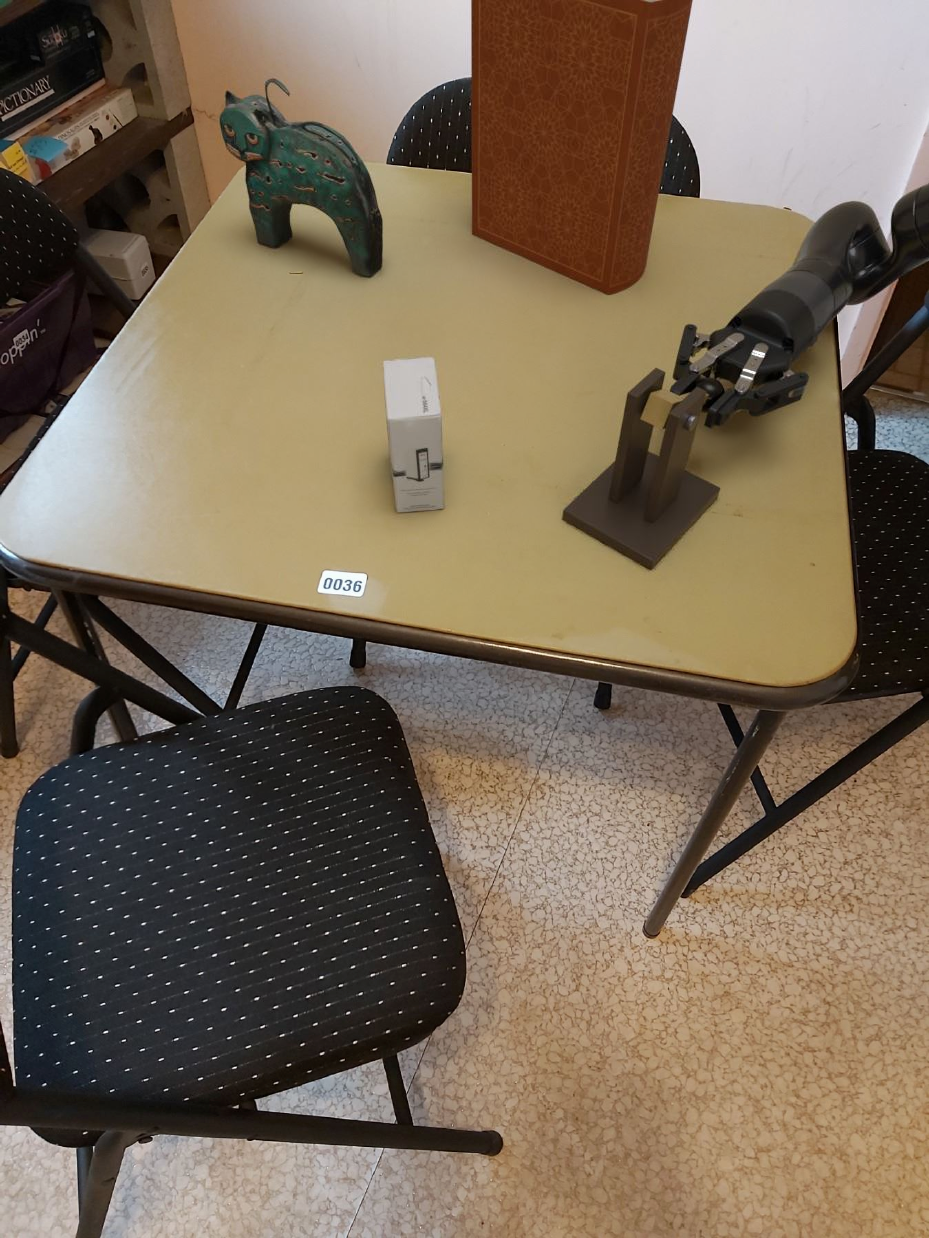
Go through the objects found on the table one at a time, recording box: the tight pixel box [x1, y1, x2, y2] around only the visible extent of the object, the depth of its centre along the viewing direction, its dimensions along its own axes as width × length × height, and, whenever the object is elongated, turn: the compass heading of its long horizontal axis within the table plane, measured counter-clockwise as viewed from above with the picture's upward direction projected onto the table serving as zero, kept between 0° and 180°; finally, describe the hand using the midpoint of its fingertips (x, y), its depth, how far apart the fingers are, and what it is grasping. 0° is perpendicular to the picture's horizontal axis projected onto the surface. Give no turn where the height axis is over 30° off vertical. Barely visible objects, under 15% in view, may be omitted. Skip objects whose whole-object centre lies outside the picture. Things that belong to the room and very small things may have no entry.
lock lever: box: [640, 378, 726, 431], centre depth 75 cm, size 13×3×3 cm, turn 140°
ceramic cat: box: [219, 78, 384, 278], centre depth 100 cm, size 20×6×20 cm, turn 60°
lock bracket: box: [561, 367, 721, 571], centre depth 75 cm, size 12×10×14 cm
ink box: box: [382, 355, 445, 513], centre depth 78 cm, size 9×5×12 cm, turn 6°
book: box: [470, 0, 694, 296], centre depth 96 cm, size 23×8×30 cm, turn 49°
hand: (691, 411), depth 77 cm, fingers closed on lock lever, 3 cm apart
